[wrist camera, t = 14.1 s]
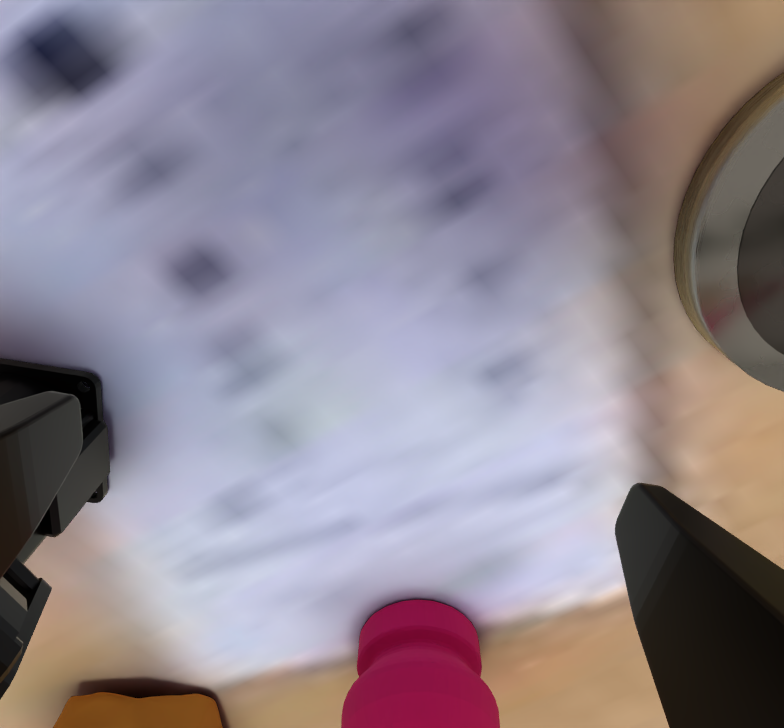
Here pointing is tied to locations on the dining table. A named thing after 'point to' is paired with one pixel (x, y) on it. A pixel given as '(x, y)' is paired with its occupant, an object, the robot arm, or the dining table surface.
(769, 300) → the dark grey bowl
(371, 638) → the pepper mill
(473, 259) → the dining table surface
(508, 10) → the dining table surface
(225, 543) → the dining table surface
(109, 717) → the coffee package
